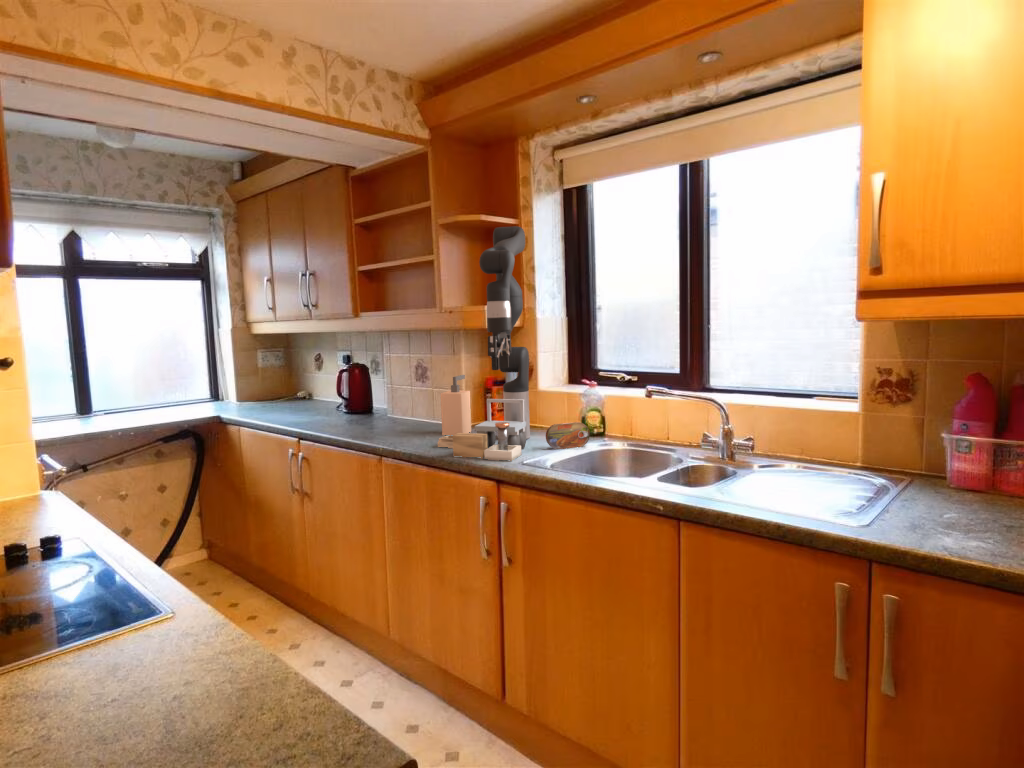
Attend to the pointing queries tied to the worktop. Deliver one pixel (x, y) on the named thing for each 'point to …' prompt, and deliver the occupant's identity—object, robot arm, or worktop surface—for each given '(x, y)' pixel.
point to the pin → (502, 435)
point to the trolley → (514, 429)
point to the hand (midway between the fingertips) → (500, 368)
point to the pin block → (446, 441)
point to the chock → (469, 444)
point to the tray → (502, 453)
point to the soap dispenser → (455, 409)
